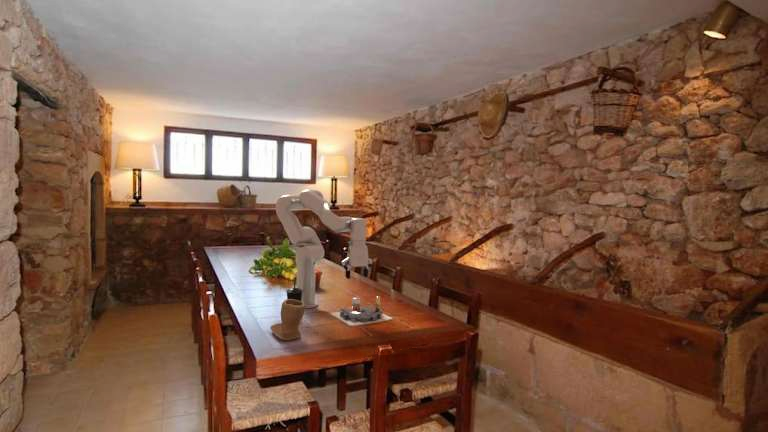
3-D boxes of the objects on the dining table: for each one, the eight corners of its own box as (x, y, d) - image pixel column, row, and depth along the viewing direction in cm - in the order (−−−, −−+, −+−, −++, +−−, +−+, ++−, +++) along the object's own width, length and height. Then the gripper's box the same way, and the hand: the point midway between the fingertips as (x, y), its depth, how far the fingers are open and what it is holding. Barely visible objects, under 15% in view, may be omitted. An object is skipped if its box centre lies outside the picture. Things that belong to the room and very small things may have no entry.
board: (350, 326, 190) (350, 325, 190) (330, 314, 208) (330, 313, 208) (392, 319, 203) (393, 318, 203) (370, 308, 220) (370, 307, 220)
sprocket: (386, 321, 197) (386, 302, 197) (342, 322, 193) (342, 302, 193) (378, 308, 217) (378, 291, 217) (338, 309, 213) (338, 292, 213)
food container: (294, 285, 267) (294, 268, 266) (319, 284, 272) (320, 268, 271) (296, 291, 252) (297, 273, 251) (323, 290, 257) (324, 273, 256)
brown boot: (308, 339, 172) (309, 303, 171) (279, 343, 166) (280, 306, 166) (296, 328, 185) (297, 294, 185) (269, 331, 180) (270, 297, 179)
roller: (354, 309, 207) (354, 299, 207) (350, 307, 210) (350, 297, 210) (361, 308, 209) (361, 298, 209) (357, 306, 212) (357, 296, 212)
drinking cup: (287, 322, 193) (288, 279, 192) (283, 317, 200) (284, 275, 199) (304, 320, 196) (305, 278, 195) (299, 316, 203) (300, 274, 202)
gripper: (345, 244, 200) (344, 280, 201) (376, 243, 210) (375, 277, 211) (338, 242, 206) (337, 277, 208) (369, 241, 216) (367, 274, 217)
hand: (356, 277), depth 209 cm, fingers open, 9 cm apart
